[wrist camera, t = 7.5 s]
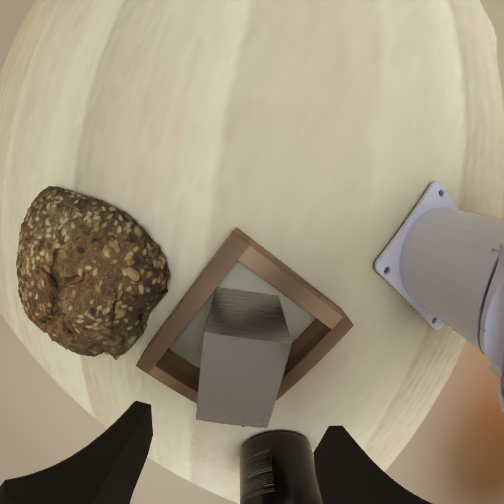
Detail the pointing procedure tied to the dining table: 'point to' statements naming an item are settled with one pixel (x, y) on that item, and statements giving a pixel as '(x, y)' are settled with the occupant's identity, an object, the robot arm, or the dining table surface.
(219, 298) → the steel bracket block
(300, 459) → the supplement bottle
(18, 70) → the dining table surface
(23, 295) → the bread roll
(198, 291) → the wooden frame
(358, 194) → the dining table surface
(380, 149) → the dining table surface
